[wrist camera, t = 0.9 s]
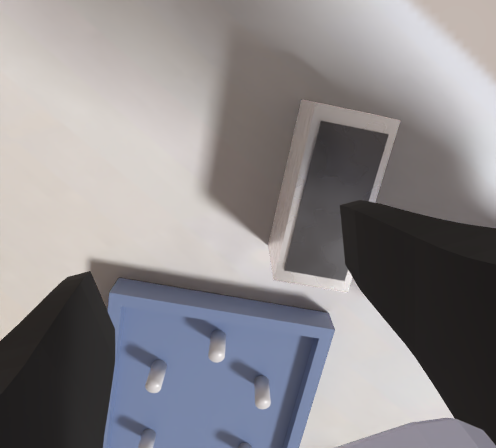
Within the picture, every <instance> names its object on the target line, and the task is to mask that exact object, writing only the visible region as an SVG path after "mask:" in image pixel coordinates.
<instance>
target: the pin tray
mask: <svg viewBox="0 0 496 448" xmlns="http://www.w3.org/2000/svg"><path fill="white" fill-rule="evenodd" d="M108 314H109V316H110V318H111V321H112V323H113V325H114V328H115V366H114V374H113V381H112V388H111V394H110V401H109V407H108V414H107V421H106V427H105V434H104V442H103V448H299V446H300V442H301V439H302V436H303V433H304V429H305V426H306V423H307V419H308V416H309V413H310V410H311V406H312V403H313V400H314V397H315V393H316V390H317V387H318V383H319V380H320V377H321V374H322V370H323V367H324V364H325V361H326V357H327V354H328V351H329V348H330V344H331V341H332V338H333V334H334V331H335V329H334V326H333V323H332V321H331V318H330V315H329V313H327V312H321V311H315V310H309V309H303V308H297V307H291V306H285V305H279V304H273V303H267V302H261V301H255V300H249V299H243V298H237V297H231V296H225V295H219V294H213V293H207V292H202V291H196V290H190V289H184V288H178V287H172V286H166V285H160V284H154V283H148V282H142V281H136V280H130V279H124V278H118V280H117V281H116V283H115V285H114V286H113V288H112V289H111V291H110V292H109V301H108Z"/></svg>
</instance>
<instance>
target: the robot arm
mask: <svg viewBox="0 0 496 448" xmlns="http://www.w3.org/2000/svg"><path fill="white" fill-rule="evenodd" d="M340 214H341V225H342V235H343V246H344V257H345V265H346V267H347V268H348V270H349V272H350V274H351V275H352V277H353V279H354V280H355V282H356V283H357V285H358V287H359V288H360V290H361V291H362V292H363V294H364V295H365V296H366V297H367V299H368V300H369V301H370V302H371V303H372V305H373V306H374V307H375V308H376V310H377V311H378V312H379V313H380V314H381V316H382V317H383V318H384V319H385V320H386V322H387V323H388V324H389V325H390V326H391V328H392V329H393V330H394V331H395V332H396V334H397V335H398V336H399V337H400V338H401V340H402V341H403V342H404V343H405V344H406V346H407V347H408V348H409V350H410V351H411V352H412V354H413V355H414V356H415V358H416V359H417V360H418V362H419V364H420V365H421V367H422V368H423V370H424V371H425V373H426V374H427V376H428V377H429V379H430V380H431V382H432V383H433V385H434V386H435V388H436V389H437V391H438V392H439V394H440V396H441V397H442V399H443V400H444V402H445V404H446V405H447V407H448V408H449V410H450V412H451V413H452V415H453V416H454V418H455V419H453V418H442V419H435V420H427V421H420V422H412V423H408V424H405V425H402V426H399V427H396V428H393V429H390V430H387V431H384V432H381V433H378V434H375V435H372V436H369V437H366V438H363V439H359V440H356V441H353V442H350V443H347V444H344V445H341V446H338V447H335V448H496V228H488V227H481V226H474V225H467V224H462V223H456V222H451V221H447V220H442V219H437V218H433V217H429V216H424V215H420V214H416V213H412V212H409V211H405V210H401V209H397V208H394V207H390V206H386V205H382V204H378V203H374V202H370V201H364V200H357V201H354V202H350V203H346V204H342V205H340ZM114 366H115V328H114V325H113V323H112V321H111V318H110V316H109V314H108V311H107V309H106V307H105V304H104V302H103V300H102V297H101V295H100V293H99V290H98V288H97V286H96V283H95V281H94V279H93V276H92V274H91V272H90V271H89V272H85V273H81V274H78V275H74V276H70V277H67V278H66V279H65V280H63V281H62V282H61V283H60V284H59V285H58V286H57V287H56V288H55V289H54V290H53V291H52V292H51V293H50V294H48V295H47V296H46V297H45V298H44V299H43V301H42V302H41V303H39V304H38V305H37V306H36V307H35V308H34V309H33V310H32V311H31V312H30V313H29V314H28V315H27V316H26V317H25V318H24V319H23V320H22V321H21V322H20V323H19V324H18V325H17V326H16V327H15V328H14V329H13V330H12V331H11V332H10V333H8V334H7V335H6V336H5V337H4V338H3V339H2V340H1V341H0V448H103V442H104V434H105V427H106V421H107V414H108V407H109V401H110V394H111V388H112V381H113V374H114Z"/></svg>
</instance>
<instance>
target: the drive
mask: <svg viewBox="0 0 496 448" xmlns="http://www.w3.org/2000/svg"><path fill="white" fill-rule="evenodd" d="M400 121H401V120H397V119H392V118H388V117H384V116H380V115H375V114H371V113H367V112H362V111H357V110H352V109H347V108H342V107H337V106H333V105H328V104H323V103H318V102H313V101H308V100H303V99H301V102H300V107H299V111H298V116H297V120H296V124H295V129H294V133H293V138H292V142H291V146H290V151H289V155H288V160H287V164H286V168H285V173H284V177H283V182H282V186H281V190H280V195H279V199H278V204H277V208H276V212H275V217H274V221H273V225H272V230H271V234H270V239H269V243H268V248H269V254H270V261H271V267H272V273H273V279H274V280H276V281H282V282H288V283H293V284H299V285H305V286H311V287H317V288H323V289H328V290H334V291H340V292H346V293H348V290H349V287H350V284H351V281H352V275H351V274H350V272H349V270H348V268H347V267H346V265H345V257H344V246H343V235H342V225H341V214H340V205H342V204H346V203H350V202H354V201H357V200H364V201H370V202H374V203H376V199H377V196H378V193H379V189H380V186H381V183H382V180H383V176H384V173H385V170H386V167H387V163H388V160H389V157H390V154H391V150H392V147H393V144H394V141H395V137H396V134H397V131H398V128H399V124H400Z"/></svg>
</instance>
